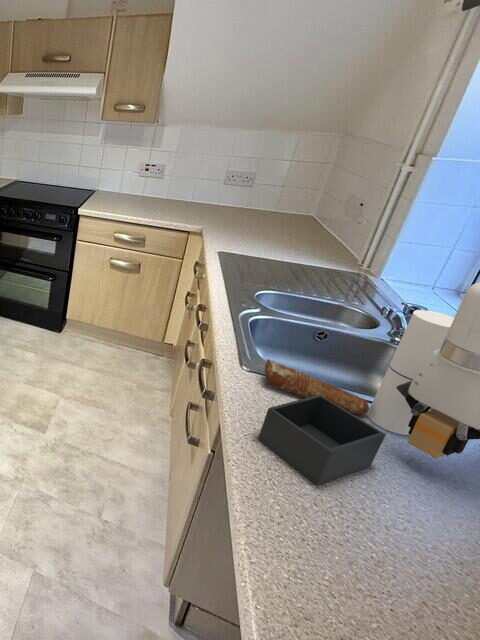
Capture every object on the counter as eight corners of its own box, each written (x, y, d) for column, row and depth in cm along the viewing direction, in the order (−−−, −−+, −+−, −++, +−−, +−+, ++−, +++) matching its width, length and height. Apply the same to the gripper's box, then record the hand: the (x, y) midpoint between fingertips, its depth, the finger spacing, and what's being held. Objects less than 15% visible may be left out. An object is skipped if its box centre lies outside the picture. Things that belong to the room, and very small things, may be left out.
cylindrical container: (368, 405, 92) (413, 306, 84) (413, 422, 88) (466, 319, 79) (366, 421, 88) (413, 318, 79) (413, 440, 83) (469, 332, 74)
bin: (307, 424, 87) (319, 394, 84) (370, 466, 77) (386, 434, 74) (257, 439, 82) (268, 407, 80) (316, 486, 72) (331, 452, 70)
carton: (424, 436, 77) (437, 407, 75) (453, 452, 74) (468, 423, 71) (406, 442, 76) (420, 413, 74) (435, 459, 72) (450, 429, 70)
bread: (262, 374, 103) (268, 355, 101) (364, 410, 91) (373, 389, 89) (258, 386, 98) (265, 366, 96) (365, 425, 87) (375, 404, 85)
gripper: (568, 382, 62) (512, 474, 68) (423, 328, 77) (389, 407, 83) (540, 392, 60) (485, 486, 66) (397, 334, 75) (363, 416, 81)
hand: (432, 441), depth 74 cm, fingers closed on carton, 4 cm apart
